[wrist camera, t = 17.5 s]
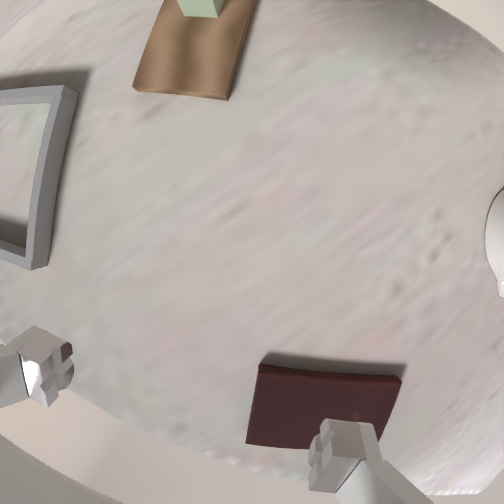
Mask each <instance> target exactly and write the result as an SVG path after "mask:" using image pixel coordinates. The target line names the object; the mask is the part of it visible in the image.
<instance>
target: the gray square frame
mask: <svg viewBox="0 0 504 504" xmlns="http://www.w3.org/2000/svg"><path fill="white" fill-rule="evenodd" d="M78 95H79V93H78V92H76V91H74V90H72V89H70V88H68V87H66V86H65V85H55V86H39V87H27V88H17V89H8V90H0V105H13V104H33V103H52V104H51V107H50V111H49V114H48V118H47V122H46V126H45V129H44V133H43V138H42V142H41V146H40V151H39V156H38V161H37V166H36V171H35V177H34V182H33V189H32V195H31V202H30V210H29V219H28V228H27V240H26V248H24V247H21V246H18V245H15V244H12V243H9V242H6V241H3V240H1V239H0V259H2V260H5V261H7V262H10V263H12V264H15V265H18V266H20V267H23V268H25V269H28V270H34V269H38V268H41V267H45V266H48V256H50V244H51V234H52V225H53V217H54V209H55V202H56V196H57V189H58V184H59V178H60V173H61V167H62V162H63V158H64V153H65V148H66V144H67V140H68V136H69V132H70V128H71V124H72V120H73V116H74V113H75V109H76V106H77V103H76V101H77V98H78Z"/></svg>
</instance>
